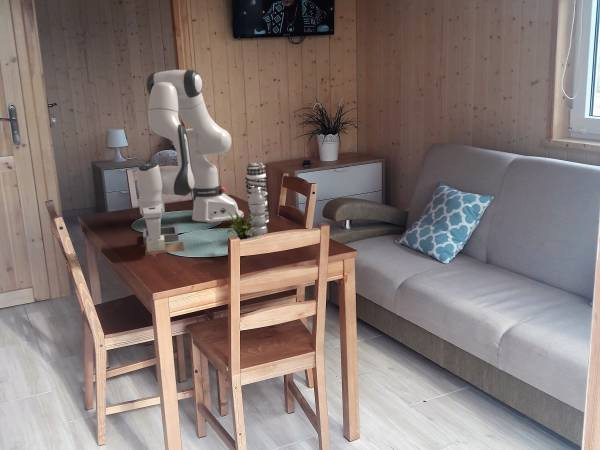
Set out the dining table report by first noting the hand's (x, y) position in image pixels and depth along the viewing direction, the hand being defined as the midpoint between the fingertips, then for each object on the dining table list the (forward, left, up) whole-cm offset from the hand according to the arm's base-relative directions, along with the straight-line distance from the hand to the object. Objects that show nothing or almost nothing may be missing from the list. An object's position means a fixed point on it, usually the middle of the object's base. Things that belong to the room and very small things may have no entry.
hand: (155, 244), depth 246 cm
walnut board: (-3, 0, -3) cm, 4 cm away
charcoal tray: (-2, -15, -3) cm, 15 cm away
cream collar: (0, 0, -2) cm, 2 cm away
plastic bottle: (-39, -4, -3) cm, 39 cm away
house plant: (-29, +14, -3) cm, 32 cm away
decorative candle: (-43, -29, -3) cm, 52 cm away
